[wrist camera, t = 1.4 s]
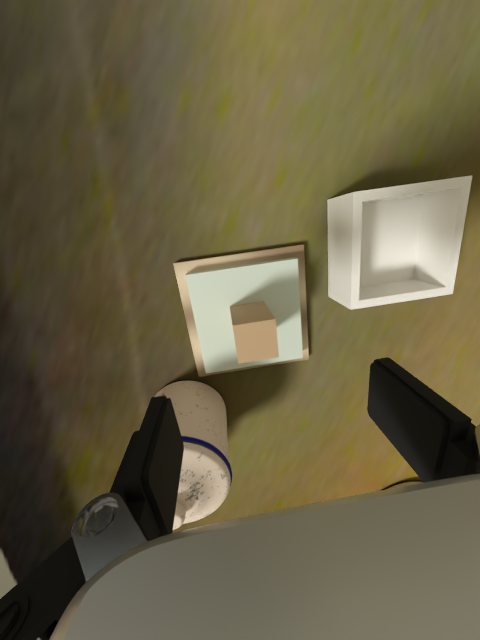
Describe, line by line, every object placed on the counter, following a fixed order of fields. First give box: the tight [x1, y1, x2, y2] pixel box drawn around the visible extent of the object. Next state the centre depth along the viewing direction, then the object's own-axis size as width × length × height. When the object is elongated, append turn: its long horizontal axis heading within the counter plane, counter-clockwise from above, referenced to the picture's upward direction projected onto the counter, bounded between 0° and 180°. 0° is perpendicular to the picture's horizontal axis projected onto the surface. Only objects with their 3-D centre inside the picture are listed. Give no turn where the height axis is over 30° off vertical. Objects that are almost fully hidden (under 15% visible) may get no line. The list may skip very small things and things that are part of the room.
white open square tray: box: [327, 175, 473, 310], centre depth 22 cm, size 9×9×4 cm
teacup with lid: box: [154, 381, 232, 530], centre depth 23 cm, size 12×9×12 cm
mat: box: [174, 244, 309, 377], centre depth 25 cm, size 12×12×1 cm
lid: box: [185, 257, 303, 373], centre depth 22 cm, size 10×10×6 cm
